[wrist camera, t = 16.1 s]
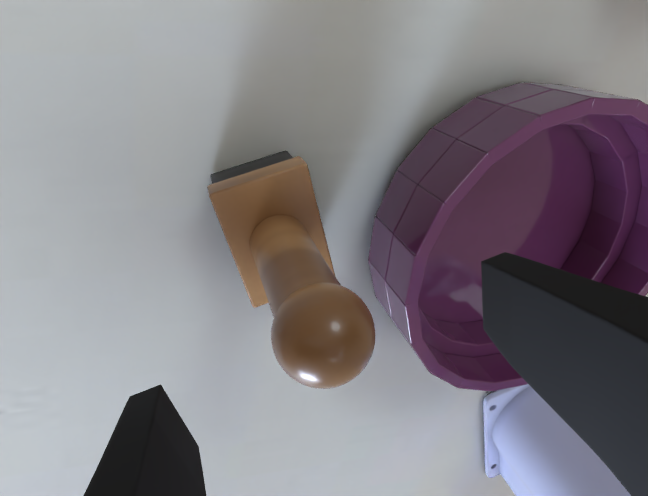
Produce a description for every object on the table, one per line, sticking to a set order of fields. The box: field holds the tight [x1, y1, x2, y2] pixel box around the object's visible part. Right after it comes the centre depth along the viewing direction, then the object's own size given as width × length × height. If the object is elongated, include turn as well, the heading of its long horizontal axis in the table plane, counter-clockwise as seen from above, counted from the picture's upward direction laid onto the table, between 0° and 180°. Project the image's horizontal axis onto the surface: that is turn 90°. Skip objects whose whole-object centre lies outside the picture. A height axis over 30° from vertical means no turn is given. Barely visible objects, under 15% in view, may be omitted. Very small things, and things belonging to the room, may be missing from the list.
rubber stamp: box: [207, 151, 375, 389], centre depth 15 cm, size 5×4×10 cm
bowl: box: [368, 82, 648, 391], centre depth 21 cm, size 14×14×4 cm
